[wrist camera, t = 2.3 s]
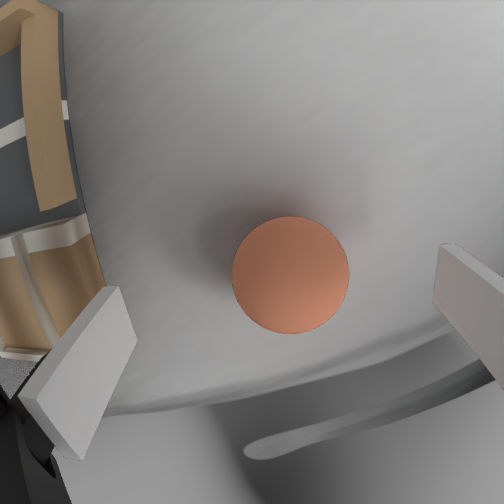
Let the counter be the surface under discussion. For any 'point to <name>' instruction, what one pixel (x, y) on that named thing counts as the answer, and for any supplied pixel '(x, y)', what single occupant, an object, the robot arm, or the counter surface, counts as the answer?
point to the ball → (290, 275)
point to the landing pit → (34, 120)
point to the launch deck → (45, 284)
